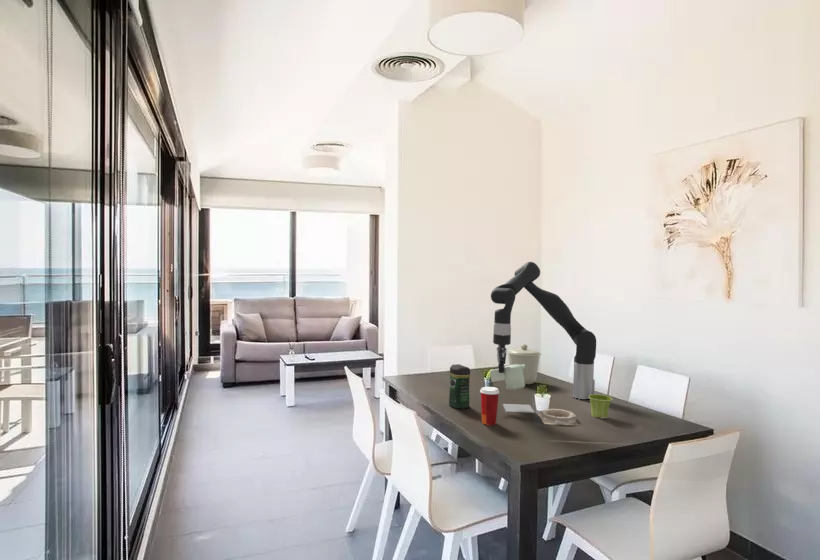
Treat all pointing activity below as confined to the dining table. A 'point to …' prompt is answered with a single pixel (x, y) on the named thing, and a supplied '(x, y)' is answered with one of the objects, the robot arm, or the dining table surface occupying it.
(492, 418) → the paper cup
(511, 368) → the pitcher
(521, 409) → the coaster
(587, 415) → the dining table surface
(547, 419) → the holder
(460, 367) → the coffee jar
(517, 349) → the canister
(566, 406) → the dining table surface
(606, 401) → the plant pot
